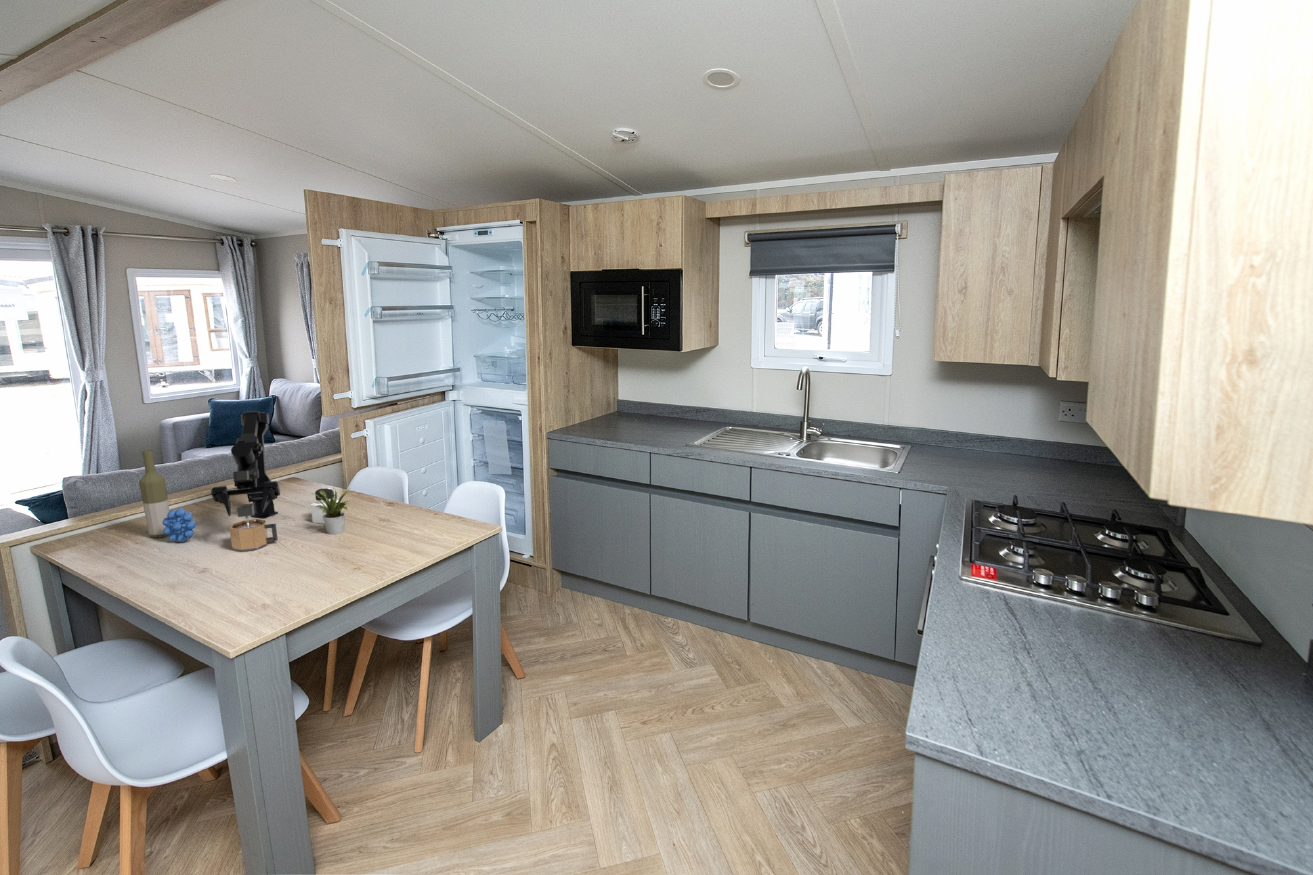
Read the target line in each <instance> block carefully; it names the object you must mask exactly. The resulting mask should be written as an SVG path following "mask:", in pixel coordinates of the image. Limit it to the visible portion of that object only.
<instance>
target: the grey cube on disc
mask: <svg viewBox="0 0 1313 875" xmlns="http://www.w3.org/2000/svg"><path fill="white" fill-rule="evenodd" d="M236 509H237V517H238V518H241V517H242V518H243V517H244V518H245V520H246V524H243V525H240V526H237V527H236V529H245V528H253V527H256V526H258V525H261V524H260V523H249V520H250V519H249V517H251V516H253V514H254V512H255V511H254V504H253V502H249V503H242V504H238V506H237V508H236Z"/></svg>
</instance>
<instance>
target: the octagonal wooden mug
mask: <svg viewBox="0 0 1313 875" xmlns="http://www.w3.org/2000/svg"><path fill="white" fill-rule="evenodd" d="M249 523H260V524H261V525H258V526H256V527H253V528H245V529H236V527H237V526H240V525H243V524H246V519H245V520H240V521H238V522H235V523H232V524H231V525H230V527H229V534H230V541H231V548H232V550H233V551H234V552H238V553H245V552H253V551H257V549H258V550H261V549H263V548H265V547H267V546H268V545H269V543H270V542H277V541H278V540H279V539H278V532H277V531H278V529H277V523H270V524H269V523H268V524H267V521H266V519H261V518H256V519H255V518H253V519H249ZM267 529H271V534H272V536H271V537H268V530H267Z"/></svg>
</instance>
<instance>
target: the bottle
mask: <svg viewBox="0 0 1313 875" xmlns="http://www.w3.org/2000/svg"><path fill="white" fill-rule="evenodd" d="M141 455H142V457H143V458H142V459H143V463H144V469H145V472H144V474H143V476H142V477H141V478H140V480H139V482H138V485H139V490H140V495H141V500H142V505H143V510H144V515H145V521H146V526H147V530H148V536H150V537H151V538H163V537H167V536H168V535H165V534H164V533H163V530H164V528H165V527H167V526H164V525H163V523H162V522H163V520H164V518H167V514H168V512H169V511H170V504H169V503H170V502H169V496H168V491H167V483H166V479H165V477H164V476H162V474H159V473H158V472H157V471H156V466H155V460H154V452H153V450H152V449H145V450H141Z"/></svg>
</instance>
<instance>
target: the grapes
mask: <svg viewBox="0 0 1313 875" xmlns="http://www.w3.org/2000/svg"><path fill="white" fill-rule="evenodd" d="M193 518H194V514H193V513H191V512H190V511H186V509H184V508H183V507H180V508H177V509H176V510H175V509H173V510H172V509H171V510H169V512H168V514H167V518H164V520H163V522H162V523H163V525H164V526H167V527H165V528H164V530H163V533H164V534H165V535H167V536H169V537H168V540H169V541H170V542H176V541H177V542H179V543H182V544H183V543H185V542H186V541H187V539H190V538H193V537H194V534H195V531H194V530H195V529H196V527H197V522H196V521H195V520H192V519H193Z"/></svg>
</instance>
